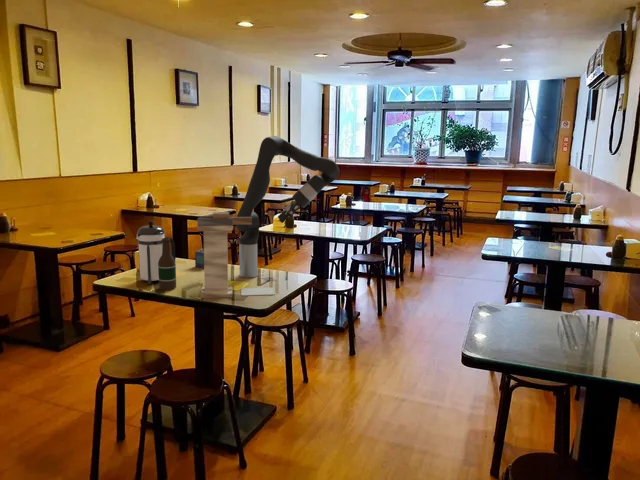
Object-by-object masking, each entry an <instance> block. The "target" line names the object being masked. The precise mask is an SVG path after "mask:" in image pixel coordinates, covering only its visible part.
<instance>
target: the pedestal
mask: <svg viewBox="0 0 640 480" xmlns="http://www.w3.org/2000/svg"><path fill="white" fill-rule="evenodd" d="M229 217H234V216H233V215H229ZM196 220H197V227H196V228H197V232H203V252H204V268H203V269H204V271H203V272H204V285H202V286H201V290H200V293H199V298H200V299H218V298H219V299H220V298H223V299H224V298H233V288H234V287H233V284H231V285H229V263H228V262H229V259H228V258H229V255H228V254H229V253H228V250H229V248H228V246H229V245H228V232H229V231H230V232H231V231H233V230H234V229H233V227H234V225H233V219H213V215H198V218H196Z"/></svg>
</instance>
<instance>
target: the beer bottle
mask: <svg viewBox="0 0 640 480" xmlns="http://www.w3.org/2000/svg"><path fill="white" fill-rule="evenodd" d="M170 238H171V237H169V238H165V237H164V238H163V239H162V256H161V257H160V259H159V262H158V274H159V280H158V288H159V290H161V291H173V290H175V289H176V288H177V274H176V273H177V270H176V269H177V267H176V259H175V260H174V258H173V256H172V255H171V243H170Z"/></svg>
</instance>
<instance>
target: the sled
mask: <svg viewBox="0 0 640 480" xmlns="http://www.w3.org/2000/svg"><path fill="white" fill-rule="evenodd" d="M212 216H213V219H233V226H234V225H235V226H236V225H249V224H252V217H237V216H233V217H229V216H230V212H229V211H214V212H212Z"/></svg>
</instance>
